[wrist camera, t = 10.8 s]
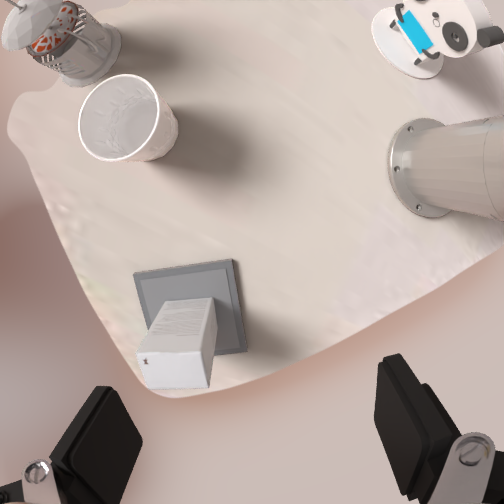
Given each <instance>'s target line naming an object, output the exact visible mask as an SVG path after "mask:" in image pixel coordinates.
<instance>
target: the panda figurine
mask: <svg viewBox="0 0 504 504" xmlns="http://www.w3.org/2000/svg"><path fill="white" fill-rule="evenodd" d="M403 3H404V4H397V5H396V6H395V7H389V8H385V9H382V10H381V11H379V12H378V13H377V14H376V15H375V17H374V19H373V21H372V35H373V39H374V42H375V44H376V46H377V48H378V49H379V51H380V53H381V54H382V55H383V56H384V58H385V59H386V60H387V61H388V62H389V63H390V64H391V65H392V66H394V67H395V68H396V69H397V70H399V71H401V72H402V73H404V74H406V75H408V76H411V77H414V78H419V79H426V78H430V77H433V76H435V75H436V74H438V73H439V71H440V70H441V68H442V66H443V63H444V55H446V56H449V57H453V58H459V57H463V56H466V55H469V54H472V53H475V52H478V51H481V50H482V49H484V48H486V47H490V46H493V45H497V44H500V43H503V42H504V33H503V31H502V30H501V28H499V27H498V26H493V24H492V20H491V17H490V14H489V12H488V10H487V8H486V7H485V5H484V3H483V2H482V0H403Z"/></svg>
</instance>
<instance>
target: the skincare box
mask: <svg viewBox="0 0 504 504" xmlns="http://www.w3.org/2000/svg"><path fill="white" fill-rule="evenodd" d="M217 330H218V325H217V319H216V312H215V306H214V299H213V297H210V298H199V299H187V300H175V301H165V303H164V304H163V306H162V308H161V309H160V311H159V313H158V315H157V316H156V318H155V320H154V321H153V323H152V325H151V327H150V328H149V330H148V332H147V334H146V335H145V337H144V339H143V341H142V342H141V344H140V346H139V348H138V349H137V351H136V353H135V354H136V357H137V360H138V363H139V366H140V368H141V371H142V374H143V377H144V380H145V383H146V385H147V388H148V389H196V388H209V386H210V379H211V371H212V364H213V357H214V350H215V343H216V337H217Z"/></svg>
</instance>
